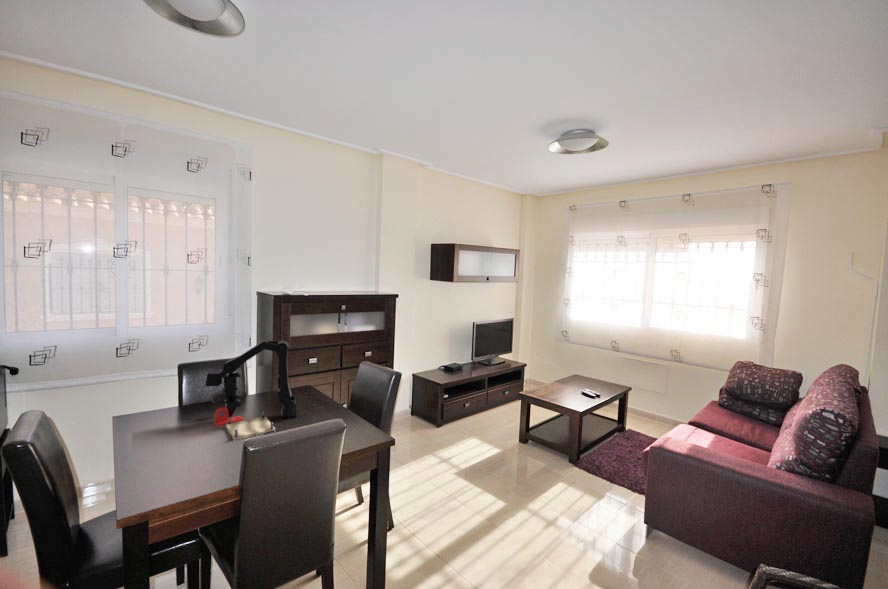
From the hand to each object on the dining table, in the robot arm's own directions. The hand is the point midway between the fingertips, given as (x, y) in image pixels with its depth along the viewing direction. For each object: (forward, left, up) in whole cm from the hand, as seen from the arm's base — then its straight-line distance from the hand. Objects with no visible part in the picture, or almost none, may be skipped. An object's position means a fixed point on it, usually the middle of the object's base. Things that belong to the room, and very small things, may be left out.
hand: (230, 416), depth 197 cm
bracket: (+1, +2, -3) cm, 3 cm away
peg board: (-6, +16, -3) cm, 17 cm away
